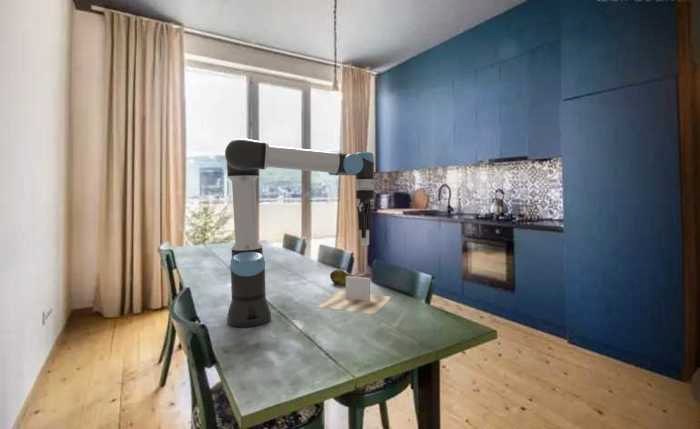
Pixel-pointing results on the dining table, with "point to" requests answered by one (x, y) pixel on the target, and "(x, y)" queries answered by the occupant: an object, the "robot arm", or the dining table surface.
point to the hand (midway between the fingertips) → (365, 244)
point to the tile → (358, 288)
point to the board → (355, 303)
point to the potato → (339, 277)
